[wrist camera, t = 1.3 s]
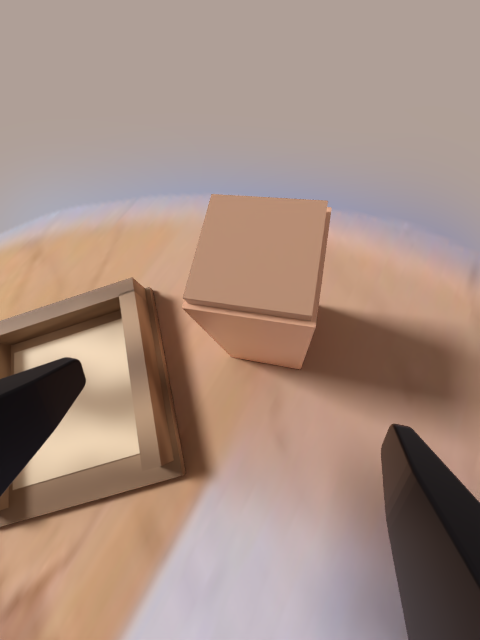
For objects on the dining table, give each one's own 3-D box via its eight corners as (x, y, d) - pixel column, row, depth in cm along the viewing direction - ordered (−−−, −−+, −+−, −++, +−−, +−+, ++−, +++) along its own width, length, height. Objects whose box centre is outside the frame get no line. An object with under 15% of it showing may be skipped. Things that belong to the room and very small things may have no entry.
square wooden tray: (185, 473, 18) (170, 482, 16) (-5, 527, 19) (-47, 543, 17) (152, 289, 23) (137, 275, 21) (0, 339, 24) (-32, 331, 22)
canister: (300, 369, 19) (317, 322, 9) (231, 356, 20) (176, 302, 10) (309, 302, 21) (334, 196, 10) (244, 294, 22) (207, 190, 12)
